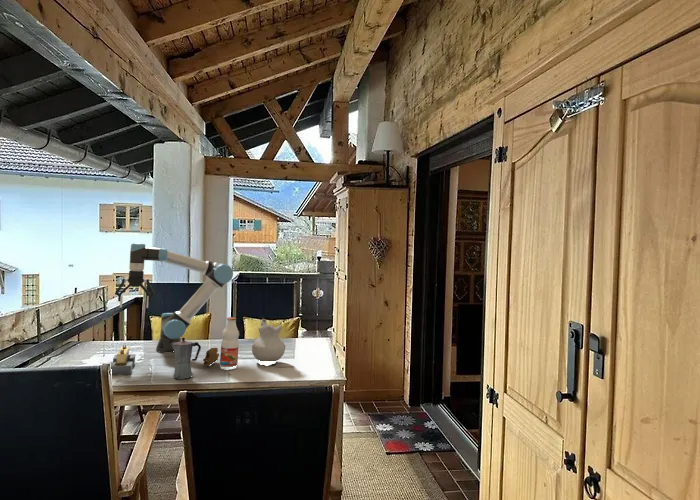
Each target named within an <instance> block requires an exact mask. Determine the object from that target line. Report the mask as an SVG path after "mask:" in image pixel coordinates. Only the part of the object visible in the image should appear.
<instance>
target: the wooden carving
mask: <svg viewBox="0 0 700 500" xmlns="http://www.w3.org/2000/svg"><path fill="white" fill-rule="evenodd" d="M218 351H219V349H218V348H217V347H211V348H210V349H208V350H207V351H206V353H205V358H203V360H202V361H203V366H205V365H206V366H205V367H209V365H210V364H212V363H213V362H215V361H216V360H217V361H218V360H219V356H220V353H218ZM215 363H216V362H215Z"/></svg>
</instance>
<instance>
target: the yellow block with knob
mask: <svg viewBox="0 0 700 500" xmlns="http://www.w3.org/2000/svg"><path fill="white" fill-rule="evenodd" d="M129 354H130V347H128V346H127V345H125V344H124V345H122V346H121V347H120V348H119V350H118V351H117V354H116V355H117V363H116V366H120V365H127V363H128V358H129Z"/></svg>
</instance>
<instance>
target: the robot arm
mask: <svg viewBox="0 0 700 500" xmlns="http://www.w3.org/2000/svg"><path fill="white" fill-rule="evenodd" d="M129 253H130V254H129V266H128V267H129V268H128V269H129V271H128V278H124V277H123V278H122V279H121V283H120V284H119V286H118V288H116V291H115V293H114V295H115V296H118V297H117V302H119V308H123V298H124V296H123V295H122V294H124V293H125V292H126V291H127V290H128V289H129V288H130V287H133V288H134V287H136V288H139V287H140V288H141V289H142V290H143V291H144V292H145V293H146V295H147V296H146V309H149V303H150V302H151V300H152V296H153V297H154V296H155V291H154V290H153V288H152V285H151V283H150V279H149V278H146V279H144V274H145V273H144V271H145V261H150V262H151V261H156V262H162V263H165V264H170V265H173V266H176V267H179V268H183V269H187V270H190V271H194V272H197V273H201V274H202V275H203V276H205V278H206V279H205V281H204V282H203V283H202V285H200V287H199V288H198V289H197V290H196V292H194V294H193V295H192V296H191V297H190V298H189V299H188V301H187V302H185V304H184V305H183V306H182V307H181V308H180V309H179V310H177V311H174V312H164V313H162V314H161V317H160V334H159V335H160V336H159V339H158V342H157V343H156V348H155V351H156V352H158V351H160V352H159V353H165V352H171V353H174V352H173V351H174V350H173V348H172V345H170V344H172V343H174V342H180V341H182V338H183V336H184V335H185V333H186V330H187V328H189V326H190V325H191V320H192V319H193V318H194V316H196V314H197V313H198V312H199V311H200V309H202V307H203V306H204V305H205V304H206V303H207V301H209V299H210V298H211V297H212V296H213V295H214V293H216V291H218V290H221V289H223V287H224V286H225V285H226V284H228V283H229V282H231V281H232V280H233V276H234V271H233V268H232V267H231V266H230V265H229V264H226V263H222V262H216V261H210V260H206V261H205V260H201V259H198V258H195V257H191V256H188V255H185V254H181V253H179V252H178V253H177V252H174V251H170V250H168V249H167V248H163V247H157V246H151V247H149V246H148V247H147V246H146V244H145V243H136V242H133V243H131V245H130V252H129ZM127 282H128V284H127V286H125V287H124V289H122V288H123V286H124V285H125V283H127ZM143 283H145V284H146V285H147V287H148V289H149V290H148V289H147V288H146V287H145V286H144V284H143ZM121 289H122V290H121Z"/></svg>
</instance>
